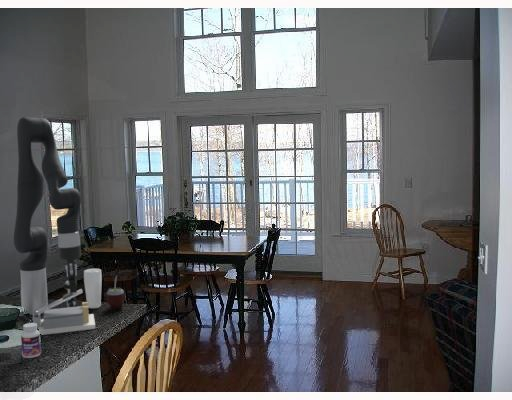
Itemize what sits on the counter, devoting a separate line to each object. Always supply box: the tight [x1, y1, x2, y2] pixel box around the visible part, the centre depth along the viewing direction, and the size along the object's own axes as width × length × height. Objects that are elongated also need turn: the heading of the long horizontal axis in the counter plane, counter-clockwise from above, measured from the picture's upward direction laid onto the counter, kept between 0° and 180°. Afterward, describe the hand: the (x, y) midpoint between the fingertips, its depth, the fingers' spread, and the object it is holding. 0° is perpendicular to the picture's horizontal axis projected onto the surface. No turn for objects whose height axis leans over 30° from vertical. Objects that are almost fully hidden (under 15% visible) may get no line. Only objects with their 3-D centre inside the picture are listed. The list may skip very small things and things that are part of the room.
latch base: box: [32, 301, 96, 336], centre depth 195 cm, size 22×13×7 cm, turn 109°
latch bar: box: [34, 288, 84, 317], centre depth 195 cm, size 18×4×2 cm, turn 108°
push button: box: [63, 280, 78, 308], centre depth 220 cm, size 7×5×10 cm
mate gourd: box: [105, 274, 126, 312], centre depth 215 cm, size 8×8×15 cm
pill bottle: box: [20, 322, 42, 359], centre depth 169 cm, size 5×5×10 cm
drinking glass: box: [83, 268, 103, 309], centre depth 218 cm, size 7×7×15 cm
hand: (73, 292), depth 196 cm, fingers closed
